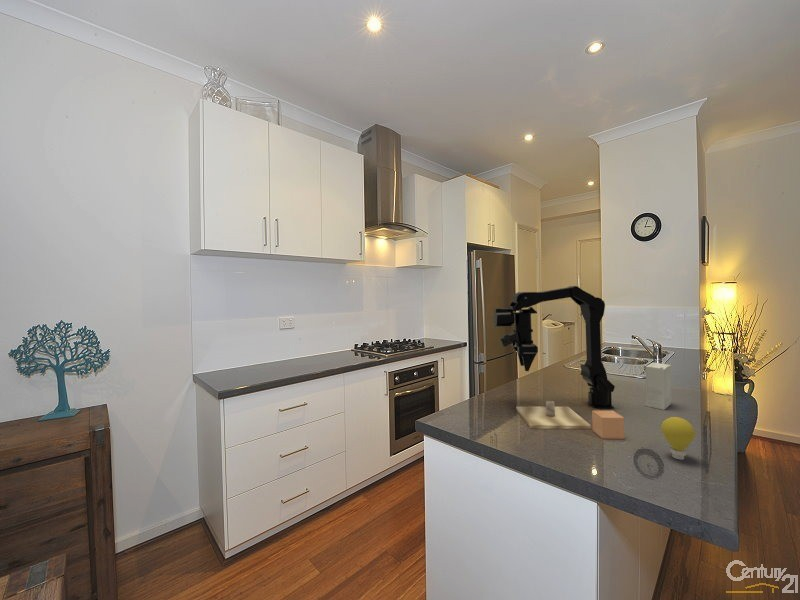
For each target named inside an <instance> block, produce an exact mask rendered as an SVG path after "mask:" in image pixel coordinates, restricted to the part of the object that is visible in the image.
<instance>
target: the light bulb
mask: <svg viewBox="0 0 800 600" xmlns="http://www.w3.org/2000/svg"><path fill="white" fill-rule="evenodd" d="M660 430H661V433H662V434H663V436H664V438H665V440H666V441H667V443H669V445H670V448H669V453H671V457H672V458H673V459H676V460H685V457H686V456H687V450H686V448H688V446H690V444H691V443H692V442H693V441H694V439H695V438H696V432H695V428H694V427H693V425H692V423H690V422H689V421H688V420H686V419H684V418H682V417H680V416H679V417H678V416H671V417H668V418H665V419H664V420H663V422H661V427H660Z"/></svg>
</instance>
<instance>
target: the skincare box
mask: <svg viewBox="0 0 800 600" xmlns="http://www.w3.org/2000/svg"><path fill="white" fill-rule="evenodd" d="M671 404H672V365H671V364H668V363H667V364H666V363H660V362H651V363H649V364H648V365H646V366H645V406H646V407H648V408H654V409H658V410H662V411H663V410H666V409H667V408H668V407H669V406H671Z"/></svg>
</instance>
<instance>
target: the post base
mask: <svg viewBox="0 0 800 600" xmlns="http://www.w3.org/2000/svg"><path fill="white" fill-rule="evenodd" d="M515 409H516V412H518V414H520V416H521V417H522V419H523V420H524V422H525V424H527V426H528V427H529V428H530V429H531V430H532V429H533V430H535V429H537V430H538V429H541V430H542V429H549V430H551V429H555V430H567V429H568V430H591V429H592V424H590V423H589V422H587V421H586V420H585V419H584V418H583V417H581V416H580V415H579V414H577V413H576V412H575V411H574V410H573V409H571V408H570V407H569V406H555V401H553V400H546V401H545V406H516V408H515Z"/></svg>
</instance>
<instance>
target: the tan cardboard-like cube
mask: <svg viewBox="0 0 800 600" xmlns="http://www.w3.org/2000/svg"><path fill="white" fill-rule="evenodd" d="M591 414H592V415H591V416H592V420H591V421H592V424H591V425H592V432H594V433H595V434H597V435H598V436H599V438H601V439H604V440H605V439H609V440H610V439H611V440H615V439H618V440H619V439H620V440H625V417H624V416H622V415H621V414H619V413H618V412H616V411H614V410H592V413H591Z"/></svg>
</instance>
